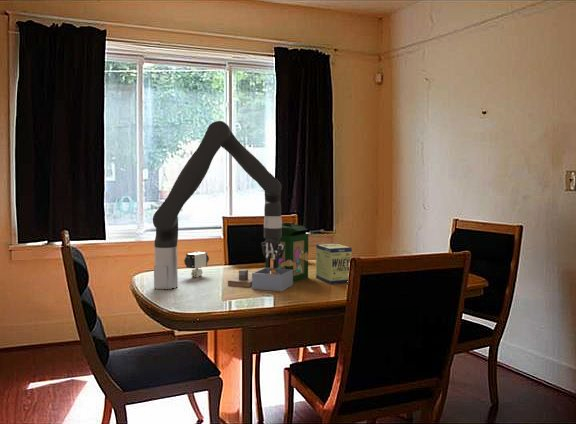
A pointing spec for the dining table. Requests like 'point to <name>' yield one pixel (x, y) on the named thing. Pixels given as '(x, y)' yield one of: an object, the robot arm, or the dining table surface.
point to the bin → (272, 279)
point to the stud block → (241, 279)
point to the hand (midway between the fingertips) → (272, 267)
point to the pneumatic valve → (196, 262)
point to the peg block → (273, 270)
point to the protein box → (333, 262)
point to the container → (294, 250)
